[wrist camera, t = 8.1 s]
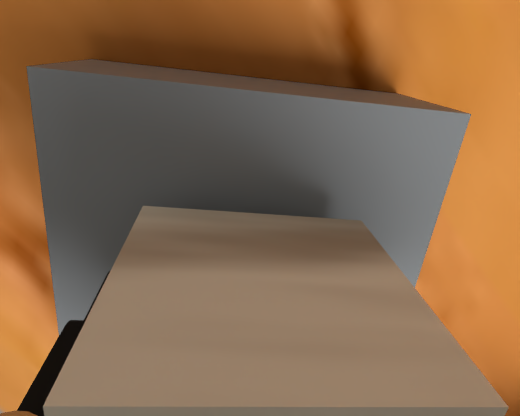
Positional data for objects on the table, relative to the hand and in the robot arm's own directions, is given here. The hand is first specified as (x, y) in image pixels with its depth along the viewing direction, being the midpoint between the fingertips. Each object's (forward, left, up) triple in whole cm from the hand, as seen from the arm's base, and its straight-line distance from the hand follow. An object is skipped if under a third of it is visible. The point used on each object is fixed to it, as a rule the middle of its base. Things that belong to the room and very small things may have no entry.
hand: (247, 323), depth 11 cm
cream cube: (0, 0, -1) cm, 1 cm away
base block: (0, 0, -7) cm, 7 cm away
